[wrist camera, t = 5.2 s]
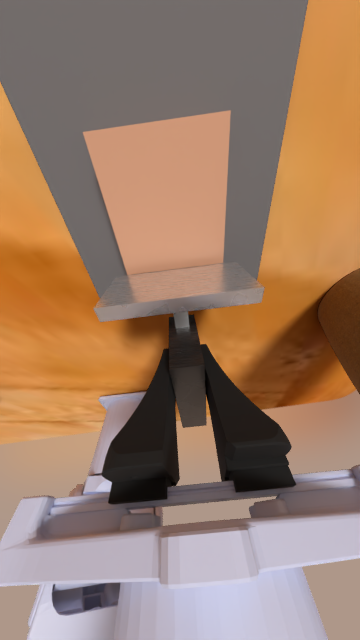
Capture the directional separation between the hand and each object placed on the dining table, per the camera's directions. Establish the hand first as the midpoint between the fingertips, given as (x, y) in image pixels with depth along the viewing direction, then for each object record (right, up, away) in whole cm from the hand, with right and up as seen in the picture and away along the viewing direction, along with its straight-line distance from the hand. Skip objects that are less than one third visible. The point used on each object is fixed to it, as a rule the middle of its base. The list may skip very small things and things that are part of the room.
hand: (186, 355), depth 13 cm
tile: (-1, +7, -1) cm, 7 cm away
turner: (0, +2, +1) cm, 2 cm away
